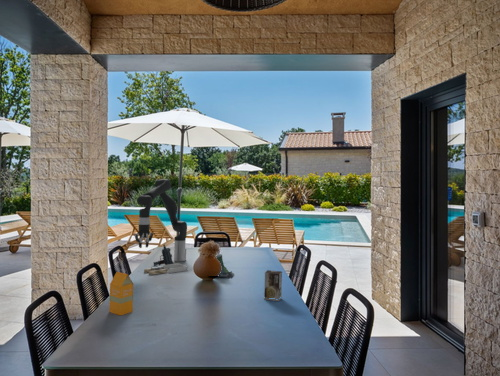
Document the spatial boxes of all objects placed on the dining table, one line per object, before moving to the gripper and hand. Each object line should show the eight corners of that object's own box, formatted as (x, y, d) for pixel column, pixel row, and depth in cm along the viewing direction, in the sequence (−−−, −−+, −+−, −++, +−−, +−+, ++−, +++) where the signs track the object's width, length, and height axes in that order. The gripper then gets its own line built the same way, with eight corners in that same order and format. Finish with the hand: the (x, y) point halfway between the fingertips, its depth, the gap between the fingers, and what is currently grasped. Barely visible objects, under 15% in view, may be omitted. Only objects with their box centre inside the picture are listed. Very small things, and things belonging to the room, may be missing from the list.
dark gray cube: (161, 271, 279) (161, 265, 279) (164, 272, 276) (164, 266, 276) (156, 271, 277) (156, 266, 277) (159, 272, 274) (159, 267, 274)
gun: (150, 247, 296) (168, 242, 299) (155, 268, 297) (174, 263, 299) (149, 248, 294) (168, 243, 296) (154, 269, 295) (173, 264, 297)
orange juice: (120, 315, 187) (121, 275, 187) (108, 311, 192) (109, 272, 191) (132, 311, 194) (133, 272, 193) (121, 307, 198) (122, 270, 198)
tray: (178, 266, 294) (178, 263, 294) (187, 270, 284) (187, 266, 284) (160, 269, 284) (160, 265, 284) (168, 273, 274) (168, 269, 274)
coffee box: (281, 298, 223) (282, 271, 222) (278, 301, 216) (279, 273, 216) (266, 296, 225) (267, 269, 225) (263, 299, 219) (264, 272, 219)
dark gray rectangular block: (155, 271, 277) (156, 266, 276) (158, 273, 273) (158, 267, 273) (150, 272, 274) (150, 267, 274) (153, 273, 271) (153, 268, 271)
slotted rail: (161, 270, 282) (161, 266, 282) (167, 272, 275) (167, 269, 275) (144, 272, 273) (144, 269, 273) (149, 275, 266) (149, 271, 266)
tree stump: (240, 276, 274) (237, 253, 270) (220, 287, 260) (217, 263, 256) (223, 270, 286) (220, 248, 282) (203, 280, 273) (200, 257, 268)
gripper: (151, 222, 275) (150, 245, 275) (132, 223, 265) (131, 247, 266) (155, 223, 269) (155, 247, 269) (136, 224, 260) (136, 249, 260)
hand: (143, 247), depth 267 cm, fingers open, 4 cm apart
